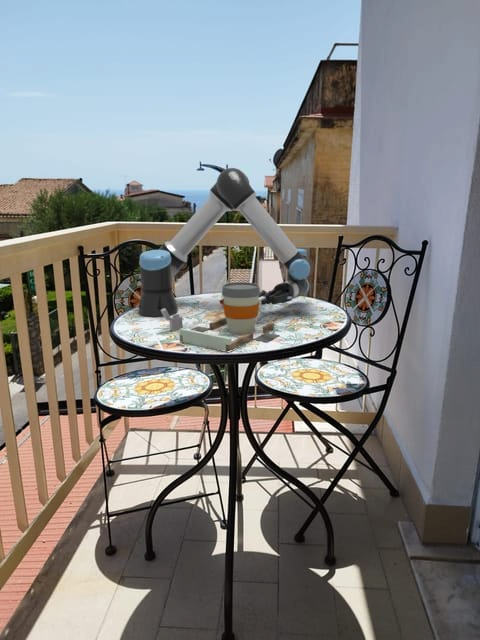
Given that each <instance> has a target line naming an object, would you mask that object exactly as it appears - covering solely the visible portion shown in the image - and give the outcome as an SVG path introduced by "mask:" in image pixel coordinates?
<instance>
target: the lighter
mask: <svg viewBox="0 0 480 640" xmlns="http://www.w3.org/2000/svg"><path fill="white" fill-rule="evenodd" d="M161 312H162V314H163V316H162V317H164V319H165V321H167V322H169V331H171V332H175V331H179V329H181V328H183V326H184V325H183V316H181V315H180V314H179V313H175V314H172V317H171V315H169V314H168V312H167V310H166V309H165V308H163V309H162V310H161ZM183 329H184V328H183Z"/></svg>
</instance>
